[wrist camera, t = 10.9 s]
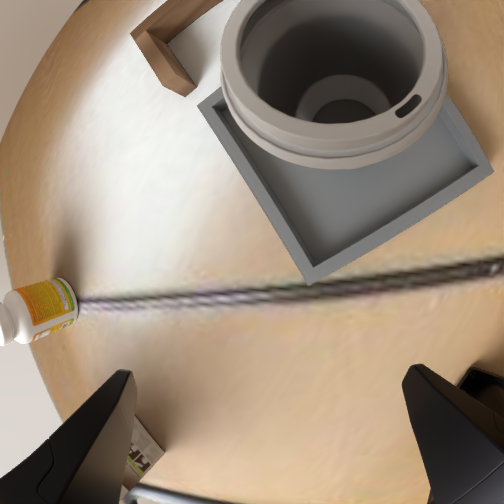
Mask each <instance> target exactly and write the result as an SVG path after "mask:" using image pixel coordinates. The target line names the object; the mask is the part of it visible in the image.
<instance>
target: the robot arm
mask: <svg viewBox="0 0 504 504" xmlns="http://www.w3.org/2000/svg"><path fill="white" fill-rule="evenodd" d="M472 373H474V374H473V375H472V376H470V375H471V374H472ZM402 389H403V393H404V397H405V401H406V406H407V410H408V414H409V418H410V422H411V425H412V429H413V432H414V435H415V438H416V441H417V444H418V447H419V450H420V453H421V456H422V459H423V463H424V466H425V469H426V473H427V476H428V480H429V483H430V487H431V490H430V494H429V498H428V503H427V504H504V377H502V376H499V375H496V374H493V373H490V372H487V371H484V370H482V369H479V368H476V367H471V368H470V369H468V371H467V372H466V374H465V375H464V377H463V378H462V380H461V381H460V383H459V384H458V386H457V387H456V386H454V385H453V384H451V383H450V382H448V381H447V380H446V379H444V378H443V377H441V376H440V375H438V374H437V373H435V372H434V371H432V370H431V369H429V368H428V367H426V366H425V365H423V364H414V365H411V366H410V368H409V369H408V371H407V373H406V375H405V377H404V379H403V381H402ZM136 398H137V387H136V383H135V380H134V376H133V373H132V371H130V370H123V369H119V370H117V371H116V372H115V373H114V374H113V375H112V376H111V377H110V378H109V379H108V380H107V381H106V382H105V383H104V384H103V385H102V386H101V387H100V388H99V389H98V390H97V391H96V392H95V393H94V394H93V395H92V396H91V397H90V398H89V399H87V400H86V401H85V402H84V403H83V404H82V405H81V406H80V407H79V408H78V409H77V410H76V411H75V412H74V413H73V414H72V415H71V416H70V417H69V418H68V419H67V420H66V421H65V422H64V423H63V424H62V425H61V426H60V427H59V428H58V429H57V430H56V431H55V432H54V433H53V434H52V435H51V436H50V437H49V439H47V440H46V441H45V442H44V443H43V444H42V445H41V446H40V447H39V448H37V449H36V450H35V451H34V452H33V453H32V454H31V455H30V456H29V457H27V458H26V459H25V460H24V461H22V462H21V463H20V464H19V465H18V466H16V467H15V468H14V469H12V470H11V471H10V472H8V473H7V474H6V475H4V476H3V477H2V478H0V504H119V499H120V494H121V489H122V483H123V478H124V473H125V468H126V464H127V459H128V454H129V450H130V445H131V440H132V434H133V425H134V416H135V407H136Z"/></svg>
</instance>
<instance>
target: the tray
mask: <svg viewBox="0 0 504 504" xmlns="http://www.w3.org/2000/svg"><path fill="white" fill-rule="evenodd" d="M197 107H198V108H199V110H200V111H201V113H202V114H203V116H204V117H205V119H206V121H207V122H208V124H209V125H210V127H211V128H212V130H213V131H214V133H215V134H216V136H217V138H218V139H219V141H220V142H221V144H222V145H223V147H224V148H225V150H226V152H227V153H228V155H229V156H230V158H231V159H232V161H233V163H234V164H235V166H236V167H237V169H238V171H239V172H240V174H241V175H242V177H243V179H244V180H245V182H246V183H247V185H248V187H249V188H250V190H251V191H252V193H253V195H254V196H255V198H256V199H257V201H258V203H259V204H260V206H261V208H262V209H263V211H264V212H265V214H266V216H267V217H268V219H269V221H270V222H271V224H272V226H273V227H274V229H275V231H276V232H277V234H278V235H279V237H280V239H281V240H282V242H283V244H284V245H285V247H286V249H287V250H288V252H289V254H290V256H291V257H292V259H293V261H294V262H295V264H296V266H297V267H298V269H299V271H300V272H301V274H302V276H303V277H304V279H305V281H306V283H307V284H308V286H309V285H311V284H313V283H314V282H316V281H318V280H320V279H322V278H323V277H325V276H327V275H329V274H331V273H332V272H334V271H336V270H338V269H340V268H341V267H343V266H345V265H347V264H348V263H350V262H352V261H354V260H355V259H357V258H359V257H361V256H362V255H364V254H366V253H367V252H369V251H371V250H373V249H374V248H376V247H378V246H379V245H381V244H383V243H384V242H386V241H388V240H389V239H391V238H393V237H394V236H396V235H398V234H399V233H401V232H403V231H404V230H406V229H407V228H409V227H411V226H412V225H414V224H416V223H417V222H419V221H420V220H422V219H424V218H425V217H427V216H428V215H430V214H431V213H433V212H435V211H436V210H438V209H439V208H441V207H442V206H444V205H446V204H447V203H449V202H450V201H452V200H453V199H455V198H456V197H458V196H459V195H461V194H462V193H464V192H465V191H467V190H468V189H470V188H471V187H473V186H474V185H476V184H477V183H479V182H480V181H482V180H483V179H485V178H486V177H487V176H489V175H490V174H492V173H493V172H494V170H493V168H492V166H491V165H490V163H489V161H488V159H487V157H486V155H485V153H484V152H483V150H482V148H481V146H480V144H479V143H478V141H477V139H476V138H475V136H474V134H473V133H472V131H471V129H470V128H469V126H468V124H467V123H466V121H465V120H464V118H463V117H462V115H461V114H460V112H459V111H458V109H457V108H456V106H455V105H454V103H453V102H452V100H451V99H450V97H449V96H448V95H447V93H446V96H445V99H444V102H443V105H442V107H441V110H440V112H439V114H438V116H437V117H436V119H435V120H434V122H433V123H432V125H431V126H430V127H429V129H428V130H427V131H426V132H425V133H424V134H423V135H422V136H421V137H420V138H419V139H418V140H417V141H416V142H414V143H413V144H412V145H411V146H409V147H408V148H406V149H405V150H403V151H402V152H400V153H398V154H396V155H394V156H392V157H390V158H388V159H386V160H383V161H381V162H378V163H374V164H371V165H367V166H364V167H361V168H358V169H352V170H345V169H332V170H328V169H318V168H310V167H306V166H301V165H297V164H294V163H291V162H288V161H286V160H283V159H280V158H278V157H276V156H274V155H273V154H271V153H269V152H267V151H266V150H264V149H263V148H261V147H260V146H258V145H257V144H256V143H255V142H253V141H252V140H251V139H250V138H249V137H248V136H247V135H246V134H245V133H244V132H243V130H242V129H241V128H240V127H239V125H238V124H237V122H236V121H235V119H234V118H233V116H232V114H231V112H230V110H229V108H228V105H227V103H226V101H225V98H224V95H223V91H222V86H221V87H220V88H219V89H217V90H216V91H215V92H214V93H212V94H211V95H210V96H208V97H207V98H206V99H205V100H203V101H202V102H201V103H200V104H198V105H197Z"/></svg>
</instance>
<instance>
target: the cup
mask: <svg viewBox="0 0 504 504" xmlns="http://www.w3.org/2000/svg"><path fill="white" fill-rule="evenodd" d="M220 53H221V86H222V91H223V95H224V98H225V101H226V103H227V105H228V108H229V110H230V112H231V114H232V116H233V118H234V119H235V121H236V122H237V124H238V125H239V127H240V128H241V129H242V130H243V132H244V133H245V134H246V135H247V136H248V137H249V138H250V139H251V140H252V141H253V142H255V143H256V144H257V145H258V146H260V147H261V148H263V149H264V150H266V151H267V152H269V153H271V154H273V155H274V156H276V157H278V158H280V159H283V160H286V161H288V162H291V163H294V164H297V165H301V166H306V167H310V168H318V169H328V170H332V169H345V170H352V169H358V168H361V167H364V166H367V165H371V164H374V163H378V162H381V161H383V160H386V159H388V158H390V157H392V156H394V155H396V154H398V153H400V152H402V151H403V150H405V149H406V148H408V147H409V146H411V145H412V144H413V143H414V142H416V141H417V140H418V139H419V138H420V137H421V136H422V135H423V134H424V133H425V132H426V131H427V130H428V129H429V127H430V126H431V125H432V123H433V122H434V120H435V119H436V117H437V116H438V114H439V112H440V110H441V107H442V105H443V102H444V99H445V96H446V91H447V86H448V60H447V55H446V51H445V47H444V43H443V41H442V38H441V36H440V34H439V32H438V30H437V27H436V25H435V23H434V21H433V19H432V18H431V16H430V14H429V12H428V11H427V10H426V9H425V7H424V6H423V5H422V4H421V2H420V1H419V0H241V1H240V3H239V4H238V5H237V7H236V8H235V9H234V11H233V12H232V14H231V16H230V18H229V20H228V22H227V24H226V26H225V29H224V33H223V37H222V41H221V52H220Z"/></svg>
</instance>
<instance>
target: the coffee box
mask: <svg viewBox="0 0 504 504" xmlns="http://www.w3.org/2000/svg"><path fill="white" fill-rule="evenodd" d="M163 455H164V451H163V450H162V449H161V448H160V447H159V445H158V444H157V443H156V442H155V441H154V439H153V438H152V437H151V436H150V434H149V433H148V432H147V431H146V429H145V428H144V427H143V426H142V424H141V423H140V422H139V420H138V419H137V418H136V416H134V425H133V434H132V440H131V445H130V450H129V454H128V459H127V464H126V468H125V473H124V478H123V483H122V489H121V494H120V499H119V501H120V500H121V499H122V498H123V497H124V496H125V495H126V494H127V493H128V492H129V491H130V490H131V489H132V488H133V487H134V486H135V485H136V484H137V483H138V482H139V481H140V479H141V478H142V477H143V476H144V475H145V474H146V473H147V472H148V471H149V470H150V469H151V468H152V467H153V466H154V465H155V463H156V462H157V461H158V460H159V459H160V458H161V457H162V456H163Z"/></svg>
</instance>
